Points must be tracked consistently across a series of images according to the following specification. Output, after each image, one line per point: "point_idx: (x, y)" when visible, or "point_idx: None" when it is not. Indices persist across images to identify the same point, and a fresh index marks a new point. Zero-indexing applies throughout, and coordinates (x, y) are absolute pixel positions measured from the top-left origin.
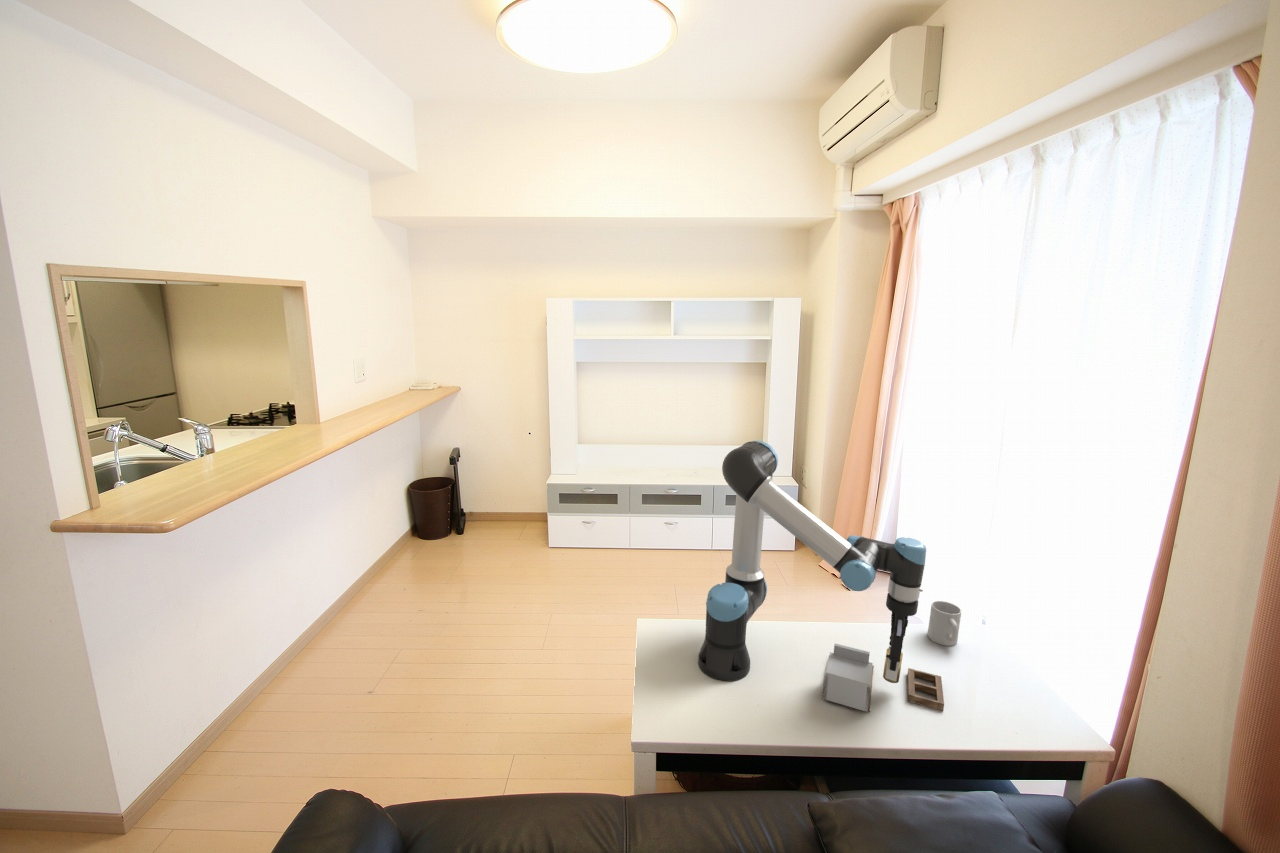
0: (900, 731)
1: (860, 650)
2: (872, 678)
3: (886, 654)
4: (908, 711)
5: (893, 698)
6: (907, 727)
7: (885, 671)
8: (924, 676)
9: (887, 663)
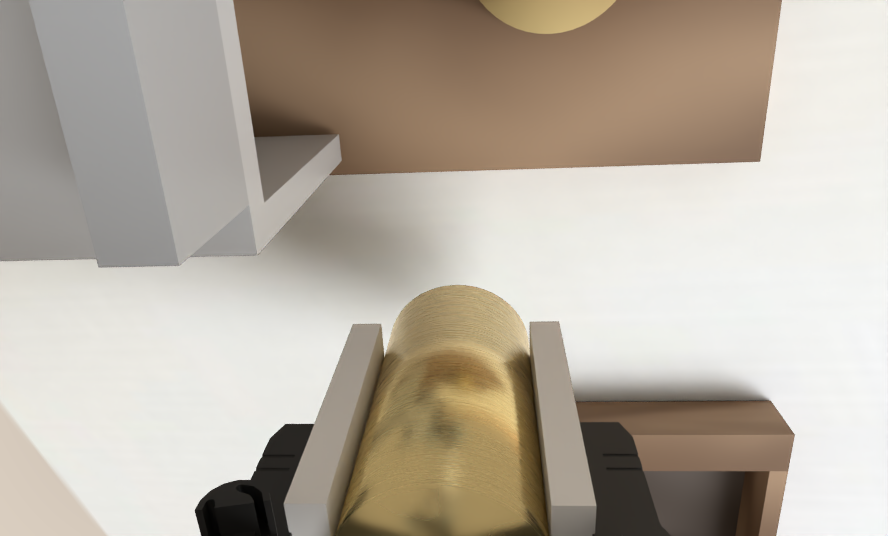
0: (69, 364)
1: (118, 100)
2: (533, 167)
3: (265, 500)
4: (305, 405)
5: (396, 318)
6: (137, 400)
7: (403, 340)
8: (748, 513)
9: (314, 429)
